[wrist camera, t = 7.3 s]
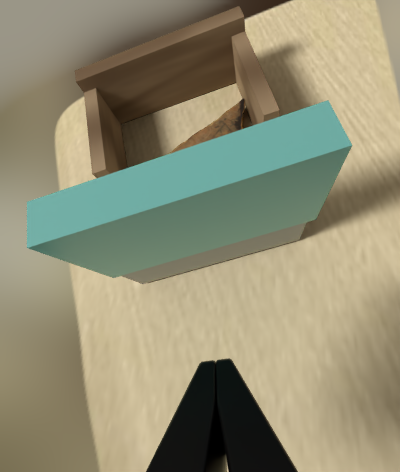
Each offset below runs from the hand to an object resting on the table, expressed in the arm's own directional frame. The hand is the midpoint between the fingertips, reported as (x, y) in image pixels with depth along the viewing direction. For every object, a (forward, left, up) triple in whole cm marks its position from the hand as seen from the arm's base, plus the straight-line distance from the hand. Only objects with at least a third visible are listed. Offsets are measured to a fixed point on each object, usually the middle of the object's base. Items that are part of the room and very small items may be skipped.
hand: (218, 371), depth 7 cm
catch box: (+17, 0, -10) cm, 20 cm away
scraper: (+6, 0, -10) cm, 12 cm away
